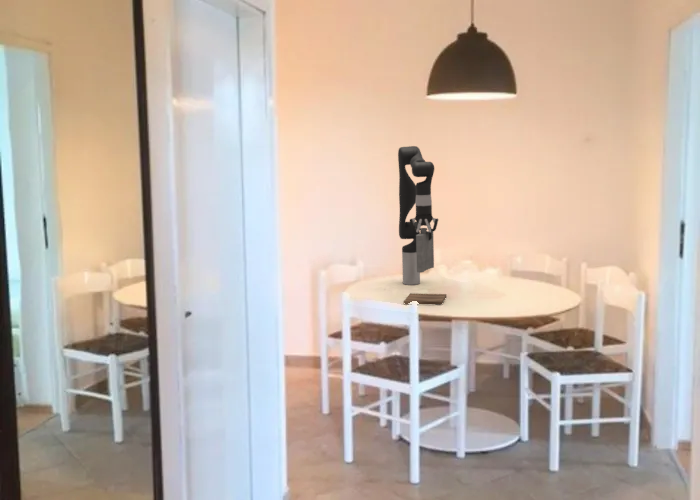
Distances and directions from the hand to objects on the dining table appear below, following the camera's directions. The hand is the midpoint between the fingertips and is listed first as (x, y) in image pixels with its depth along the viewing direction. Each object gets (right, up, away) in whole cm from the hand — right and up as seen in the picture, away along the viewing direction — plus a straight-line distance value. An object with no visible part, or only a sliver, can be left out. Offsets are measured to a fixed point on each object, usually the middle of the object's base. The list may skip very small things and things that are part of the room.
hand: (424, 239), depth 379 cm
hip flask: (0, -14, +2) cm, 15 cm away
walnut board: (+1, -29, +4) cm, 30 cm away
